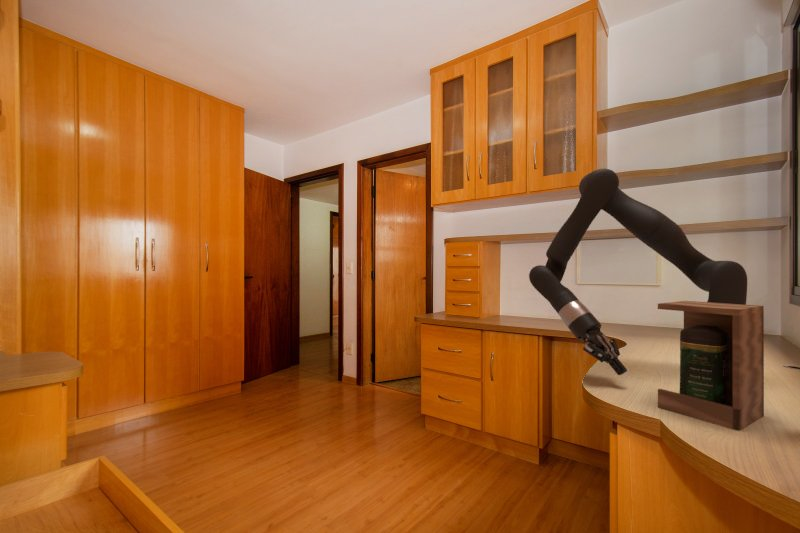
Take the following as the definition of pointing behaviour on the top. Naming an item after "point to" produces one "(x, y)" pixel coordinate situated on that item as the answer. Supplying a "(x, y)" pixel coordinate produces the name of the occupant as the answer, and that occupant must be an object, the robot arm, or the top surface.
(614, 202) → the robot arm
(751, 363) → the walnut cubby
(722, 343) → the coffee jar
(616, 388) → the top surface
